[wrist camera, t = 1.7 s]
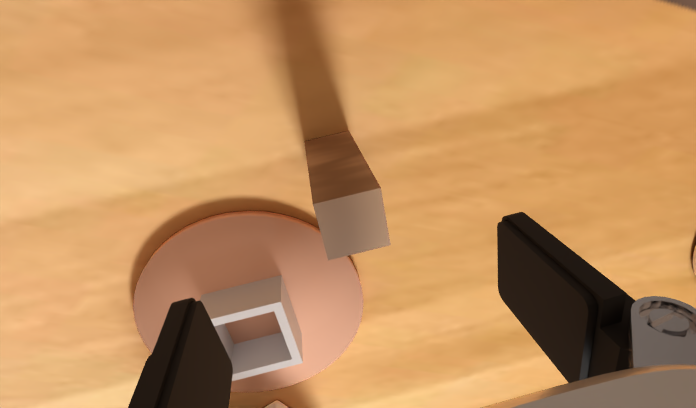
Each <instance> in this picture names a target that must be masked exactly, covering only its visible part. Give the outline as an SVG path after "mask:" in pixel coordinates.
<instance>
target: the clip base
mask: <svg viewBox="0 0 696 408" xmlns="http://www.w3.org/2000/svg"><path fill="white" fill-rule="evenodd" d="M188 298H194V299H195V300H196V301H201V302H202V303H203V305H204V307H205V309H206V311H207V313H208V315H209V317H210V319H211V321H212V323H213V325H214V327H215V329H216V331H217V333H218V335H219V337H220V339H221V341H222V344H223V346H224V348H225V350H226V352H227V354H228V356H229V358H230V360H231V362H232V367H233V376H232V383H231V392H262V391H270V390H275V389H280V388H284V387H288V386H291V385H294V384H297V383H299V382H302V381H304V380H307V379H309V378H311V377H312V376H314V375H316V374H318V373H320V372H321V371H323V370H324V369H326V368H327V367H329V366H330V365H331V364H332V363H333V362H334V361H336V360H337V359H338V358H339V357H340V356H341V355H342V354H343V352H344V351H345V350H346V349H347V348H348V346H349V345H350V343H351V342H352V340H353V339H354V337H355V335H356V333H357V331H358V328H359V325H360V322H361V318H362V313H363V294H362V287H361V284H360V280H359V277H358V274H357V271H356V269H355V267H354V265H353V263H352V261H351V259H350V258H349V256H344V257H340V258H336V259H332V260H328V258H327V254H326V251H325V247H324V243H323V239H322V236H321V232H320V229H318V228H316V227H315V226H313V225H311V224H309V223H307V222H304V221H302V220H300V219H297V218H294V217H290V216H287V215H283V214H278V213H272V212H266V211H237V212H229V213H224V214H218V215H214V216H211V217H208V218H205V219H202V220H199V221H197V222H195V223H193V224H190V225H188V226H186V227H185V228H183V229H181V230H180V231H178V232H176V233H175V234H173V235H172V236H171V237H170V238H169V239H167V240H166V241H165V242H164V243H163V244H162V245H161V246H160V247H159V248H158V249H157V250H156V251H155V252H154V254H153V255H152V257H151V258H150V260H149V261H148V263H147V264H146V266H145V268H144V269H143V271H142V273H141V275H140V278H139V280H138V282H137V285H136V289H135V294H134V304H133V310H134V318H135V322H136V326H137V329H138V332H139V334H140V336H141V338H142V340H143V342H144V343H145V345H146V346H147V348H148V349H149V350H150V352H151V353H153V350H154V347H155V345H156V342H157V339H158V337H159V334H160V332H161V329H162V326H163V324H164V321H165V318H166V316H167V313H168V311H169V308H170V306H171V304H172V303H173V302H176V301H180V300H184V299H188Z"/></svg>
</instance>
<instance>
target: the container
mask: <svg viewBox="0 0 696 408" xmlns="http://www.w3.org/2000/svg"><path fill="white" fill-rule="evenodd" d="M265 408H288V407H287V406H286V405H284V404H283V403H281V402H280V401H278V400H276V401H274V402H272V403H271V404H269V405H268V406H266V407H265Z"/></svg>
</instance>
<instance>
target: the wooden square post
mask: <svg viewBox="0 0 696 408" xmlns="http://www.w3.org/2000/svg"><path fill="white" fill-rule="evenodd" d="M304 142H305V149H306V156H307V164H308V171H309V178H310V186H311V193H312V200H313V206H314V210H315V213H316V217H317V221H318V225H319V228H320V232H321V236H322V239H323V243H324V247H325V251H326V254H327V258H328V260H332V259H336V258H340V257H344V256H348V255H352V254H357V253H361V252H365V251H369V250H373V249H377V248H381V247H385V246H389V245H390V239H389V233H388V227H387V221H386V216H385V210H384V204H383V198H382V192H381V187H380V186H379V184H378V182H377V180H376V178H375V177H374V175H373V173H372V171H371V170H370V168H369V166H368V164H367V162H366V161H365V159H364V157H363V155H362V154H361V152H360V150H359V148H358V146H357V145H356V143H355V141H354V139H353V137H352V136H351V134H350V132H349V131H346V132H342V133H338V134H333V135H329V136H325V137H320V138H316V139H312V140H308V141H304Z"/></svg>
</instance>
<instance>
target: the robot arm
mask: <svg viewBox="0 0 696 408" xmlns="http://www.w3.org/2000/svg"><path fill="white" fill-rule="evenodd" d="M497 237H498V290H499V294H500V296H501V298H502V300H503V301H504V302H505V304H506V305H507V306H508V307H509V309H510V310H511V311H512V312H513V314H514V315H515V316H516V317H517V319H518V320H519V321H520V322H521V324H522V325H523V326H524V327H525V329H526V330H527V331H528V332H529V334H530V335H531V336H532V337H533V339H534V340H535V341H536V342H537V344H538V345H539V346H540V347H541V349H542V350H543V351H544V352H545V354H546V355H547V356H548V357H549V359H550V360H551V361H552V362H553V364H554V365H555V366H556V367H557V369H558V370H559V371H560V372H561V374H562V375H563V376H564V377H565V379H566V380H567V381H568V382H569V383H568V384H564V385H560V386H556V387H553V388H549V389H545V390H542V391H538V392H535V393H531V394H528V395H524V396H521V397H517V398H514V399H510V400H506V401H503V402H499V403H496V404H492V405H489V406H485V407H482V408H696V309H695V308H694V307H692V306H690V305H688V304H686V303H683V302H681V301H679V300H675V299H671V298H667V297H658V296H651V297H644V298H641V299H638V300H636V301H635V300H634V299H633V298H631V297H630V296H629V295H627V293H626V292H624V291H623V290H622V289H620V288H619V287H618V286H617V285H615V284H614V283H613V282H612V281H610V280H609V279H608V278H606V277H605V276H604V275H603V274H601V273H600V272H599V271H598V270H596V269H595V268H594V267H592V266H591V265H590V264H589V263H587V262H586V261H585V260H584V259H582V258H581V257H580V256H578V255H577V254H576V253H575V252H573V251H572V250H571V249H569V248H568V247H567V246H566V245H564V244H563V243H562V242H561V241H559V240H558V239H557V238H555V237H554V236H553V235H552V234H550V233H549V232H548V231H547V230H545V229H544V228H543V227H541V226H540V225H539V224H538V223H536V222H535V221H534V220H533V219H531V218H530V217H529V216H527V215H526V214H525V213H523V212H519V213H515V214H511V215H508V216H504V217H503V218H502V222H499V223H498V226H497ZM693 269H694V274H695V276H696V246H695V249H694V253H693ZM232 376H233V367H232V362H231V360H230V358H229V356H228V354H227V352H226V350H225V348H224V346H223V344H222V341H221V339H220V337H219V335H218V333H217V331H216V329H215V327H214V325H213V323H212V321H211V319H210V317H209V315H208V313H207V311H206V309H205V307H204V305H203V303H202V302H201V301H196V300H195V299H194V298H188V299H184V300H180V301H176V302H173V303H172V304H171V306H170V308H169V311H168V313H167V316H166V318H165V321H164V324H163V326H162V329H161V332H160V334H159V337H158V339H157V342H156V345H155V347H154V350H153V353H152V355H150V356H149V357H148V359H147V361H146V363H145V366H144V368H143V371H142V373H141V376H140V379H139V381H138V384H137V386H136V389H135V391H134V394H133V396H132V399H131V402H130V404H129V407H128V408H228V406H229V399H230V391H231V383H232Z"/></svg>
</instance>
